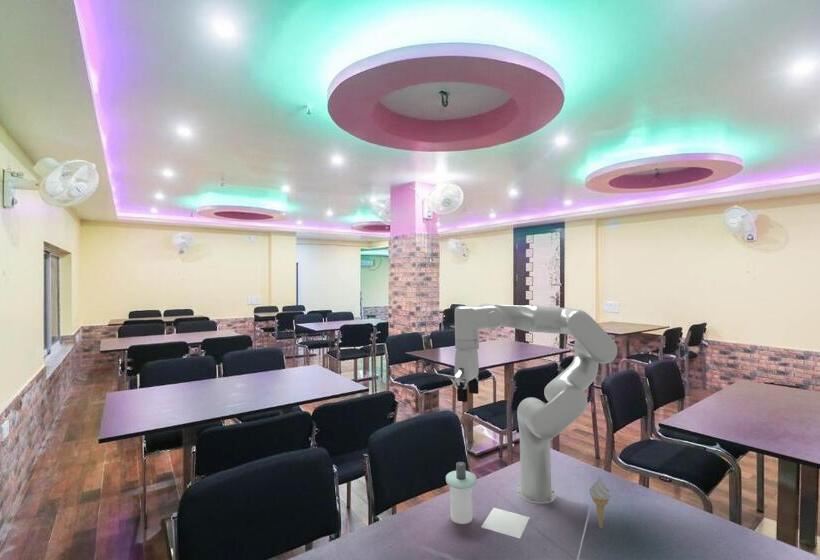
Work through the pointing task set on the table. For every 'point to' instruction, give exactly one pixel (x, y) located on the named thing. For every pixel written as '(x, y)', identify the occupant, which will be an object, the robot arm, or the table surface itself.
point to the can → (461, 505)
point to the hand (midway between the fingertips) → (468, 397)
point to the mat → (506, 522)
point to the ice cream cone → (600, 498)
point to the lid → (461, 477)
